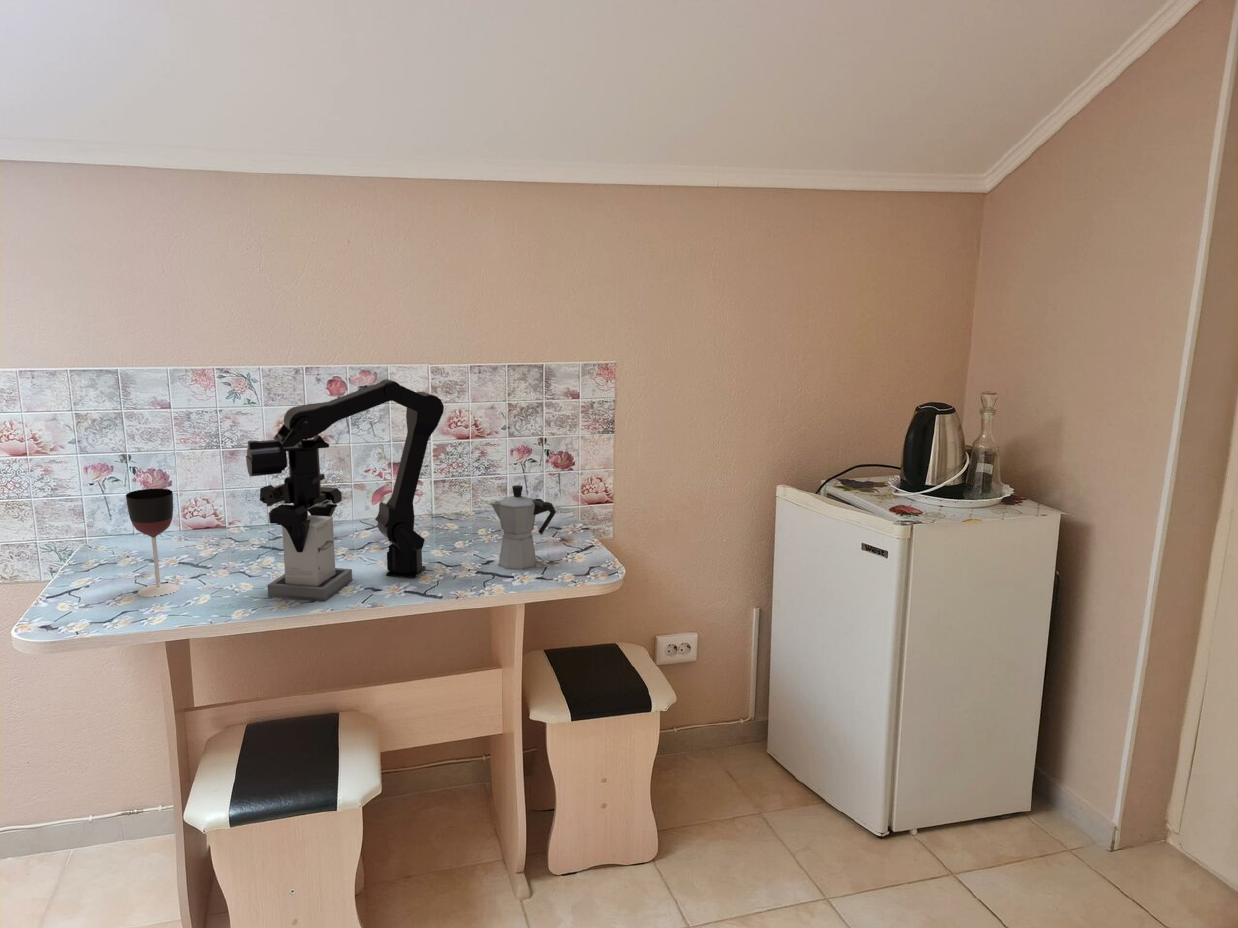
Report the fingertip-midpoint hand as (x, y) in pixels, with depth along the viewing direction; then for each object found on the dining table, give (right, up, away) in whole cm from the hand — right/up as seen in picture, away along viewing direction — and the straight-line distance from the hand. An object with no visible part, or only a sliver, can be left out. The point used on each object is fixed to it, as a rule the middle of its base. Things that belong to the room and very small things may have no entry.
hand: (309, 546), depth 174 cm
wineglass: (-30, -9, -1) cm, 31 cm away
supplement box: (0, -7, +2) cm, 7 cm away
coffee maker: (+41, -6, +20) cm, 46 cm away
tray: (0, -9, +2) cm, 9 cm away
